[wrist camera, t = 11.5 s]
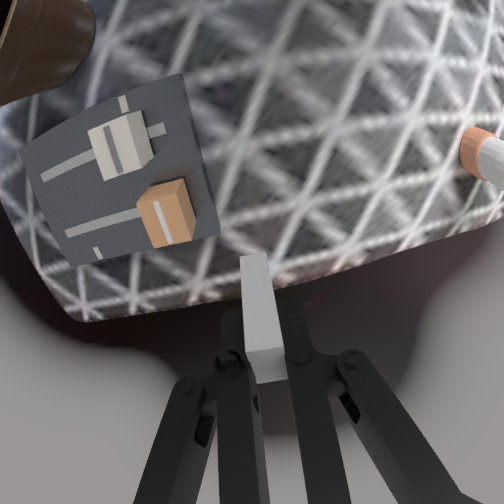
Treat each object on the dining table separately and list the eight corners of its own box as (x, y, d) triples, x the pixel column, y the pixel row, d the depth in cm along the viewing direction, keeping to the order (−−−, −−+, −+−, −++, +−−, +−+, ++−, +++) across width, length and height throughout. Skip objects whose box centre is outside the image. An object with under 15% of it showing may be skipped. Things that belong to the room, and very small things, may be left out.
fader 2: (147, 187, 26) (134, 204, 22) (183, 178, 26) (175, 194, 22) (162, 228, 29) (153, 250, 25) (196, 220, 29) (191, 242, 25)
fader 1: (105, 124, 22) (86, 131, 18) (140, 110, 21) (124, 115, 18) (119, 167, 24) (102, 182, 21) (153, 156, 24) (140, 169, 21)
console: (28, 145, 23) (18, 150, 21) (182, 74, 22) (178, 73, 20) (76, 258, 33) (70, 268, 31) (220, 226, 32) (219, 235, 30)
